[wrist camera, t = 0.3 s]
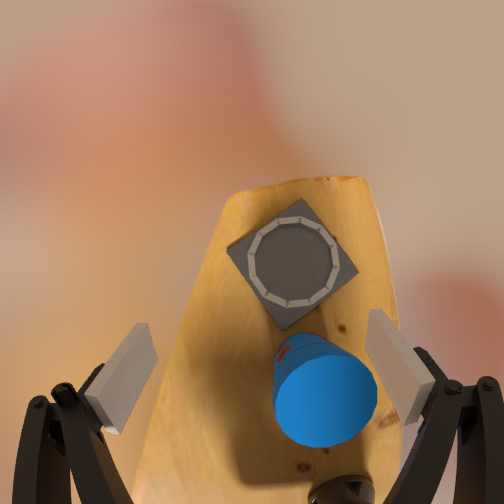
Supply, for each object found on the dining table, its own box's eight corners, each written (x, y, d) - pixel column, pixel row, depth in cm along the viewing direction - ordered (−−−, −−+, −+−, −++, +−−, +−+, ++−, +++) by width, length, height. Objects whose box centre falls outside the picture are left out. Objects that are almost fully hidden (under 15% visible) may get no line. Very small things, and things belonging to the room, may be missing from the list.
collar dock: (357, 273, 49) (361, 271, 47) (281, 330, 48) (282, 331, 46) (302, 200, 53) (303, 195, 51) (227, 252, 52) (224, 249, 50)
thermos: (281, 393, 46) (286, 459, 21) (267, 341, 48) (260, 371, 24) (337, 376, 46) (385, 427, 21) (323, 324, 48) (368, 337, 23)
